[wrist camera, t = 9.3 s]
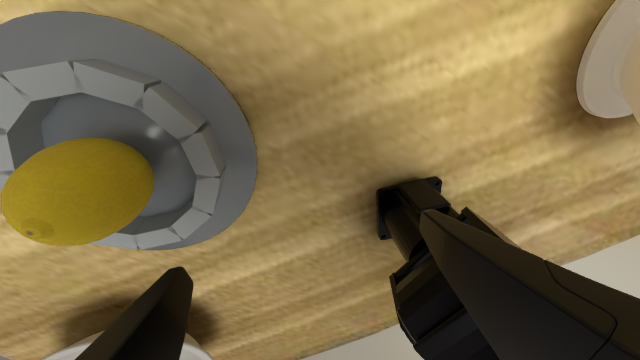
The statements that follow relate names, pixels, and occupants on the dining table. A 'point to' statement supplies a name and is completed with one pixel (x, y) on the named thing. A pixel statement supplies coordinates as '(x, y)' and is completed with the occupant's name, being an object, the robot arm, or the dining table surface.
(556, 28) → the dining table surface
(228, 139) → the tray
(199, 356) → the dish
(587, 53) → the decorative vase
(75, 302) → the dining table surface
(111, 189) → the lemon
